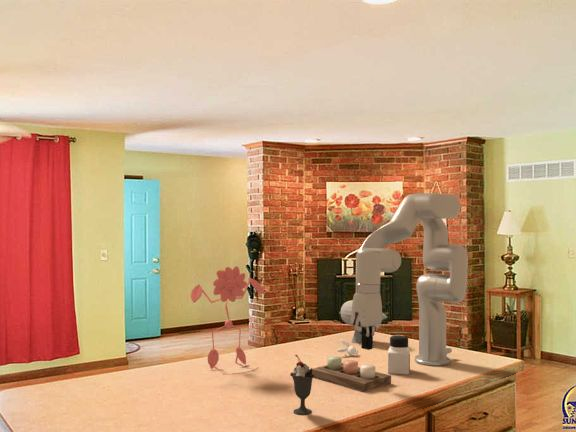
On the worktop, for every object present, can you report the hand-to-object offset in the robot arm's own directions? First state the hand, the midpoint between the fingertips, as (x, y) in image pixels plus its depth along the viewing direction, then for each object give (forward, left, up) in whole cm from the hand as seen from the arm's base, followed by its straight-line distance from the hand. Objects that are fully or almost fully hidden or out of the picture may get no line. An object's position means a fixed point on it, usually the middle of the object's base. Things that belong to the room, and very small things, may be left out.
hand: (367, 348), depth 178 cm
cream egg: (0, 0, -9) cm, 9 cm away
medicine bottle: (-20, -3, -12) cm, 24 cm away
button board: (0, -7, -11) cm, 13 cm away
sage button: (0, -14, -9) cm, 17 cm away
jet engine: (-45, -40, -12) cm, 62 cm away
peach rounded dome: (0, -7, -9) cm, 11 cm away
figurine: (+20, -44, -12) cm, 50 cm away
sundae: (+32, +4, -12) cm, 34 cm away
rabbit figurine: (-24, -30, -12) cm, 40 cm away
